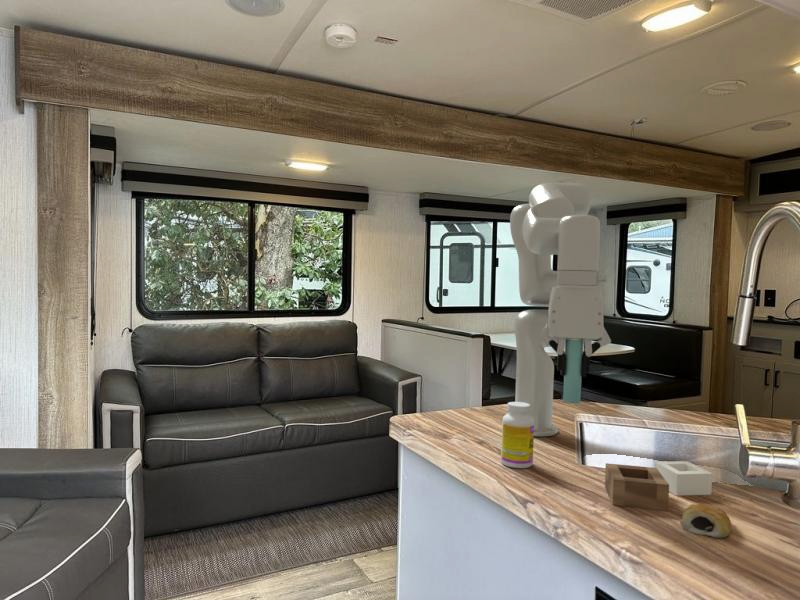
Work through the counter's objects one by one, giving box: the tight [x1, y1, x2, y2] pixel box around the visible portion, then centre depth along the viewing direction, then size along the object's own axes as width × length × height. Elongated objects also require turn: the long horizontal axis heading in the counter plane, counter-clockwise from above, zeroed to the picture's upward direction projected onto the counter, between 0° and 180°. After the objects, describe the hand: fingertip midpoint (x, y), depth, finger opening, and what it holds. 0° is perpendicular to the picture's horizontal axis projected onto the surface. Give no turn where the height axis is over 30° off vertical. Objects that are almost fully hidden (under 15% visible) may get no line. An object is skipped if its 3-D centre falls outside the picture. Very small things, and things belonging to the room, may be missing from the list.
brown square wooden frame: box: [604, 463, 670, 512], centre depth 100 cm, size 9×9×4 cm
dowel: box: [562, 339, 584, 404], centre depth 107 cm, size 3×3×14 cm
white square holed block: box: [654, 460, 713, 497], centre depth 106 cm, size 7×7×4 cm
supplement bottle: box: [500, 401, 535, 469], centre depth 117 cm, size 7×7×13 cm
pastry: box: [679, 503, 732, 539], centre depth 89 cm, size 9×7×4 cm
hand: (572, 374), depth 107 cm, fingers closed on dowel, 3 cm apart
